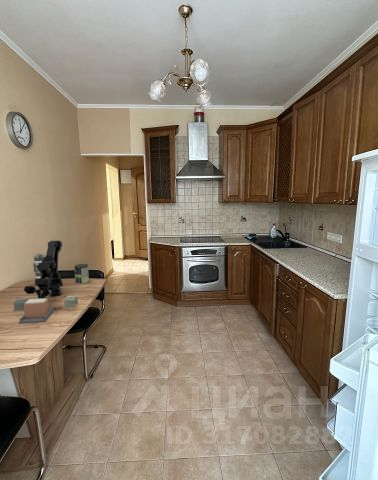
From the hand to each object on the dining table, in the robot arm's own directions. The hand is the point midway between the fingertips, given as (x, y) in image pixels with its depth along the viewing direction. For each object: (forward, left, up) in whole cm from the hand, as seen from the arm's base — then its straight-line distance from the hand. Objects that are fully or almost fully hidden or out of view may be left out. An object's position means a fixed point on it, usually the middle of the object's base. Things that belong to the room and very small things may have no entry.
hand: (39, 302), depth 143 cm
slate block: (-14, -10, -7) cm, 18 cm away
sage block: (-4, +16, -7) cm, 18 cm away
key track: (+3, -1, -6) cm, 7 cm away
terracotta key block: (+4, -2, -5) cm, 7 cm away
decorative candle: (-54, +1, -7) cm, 55 cm away
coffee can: (-49, +29, -7) cm, 58 cm away
